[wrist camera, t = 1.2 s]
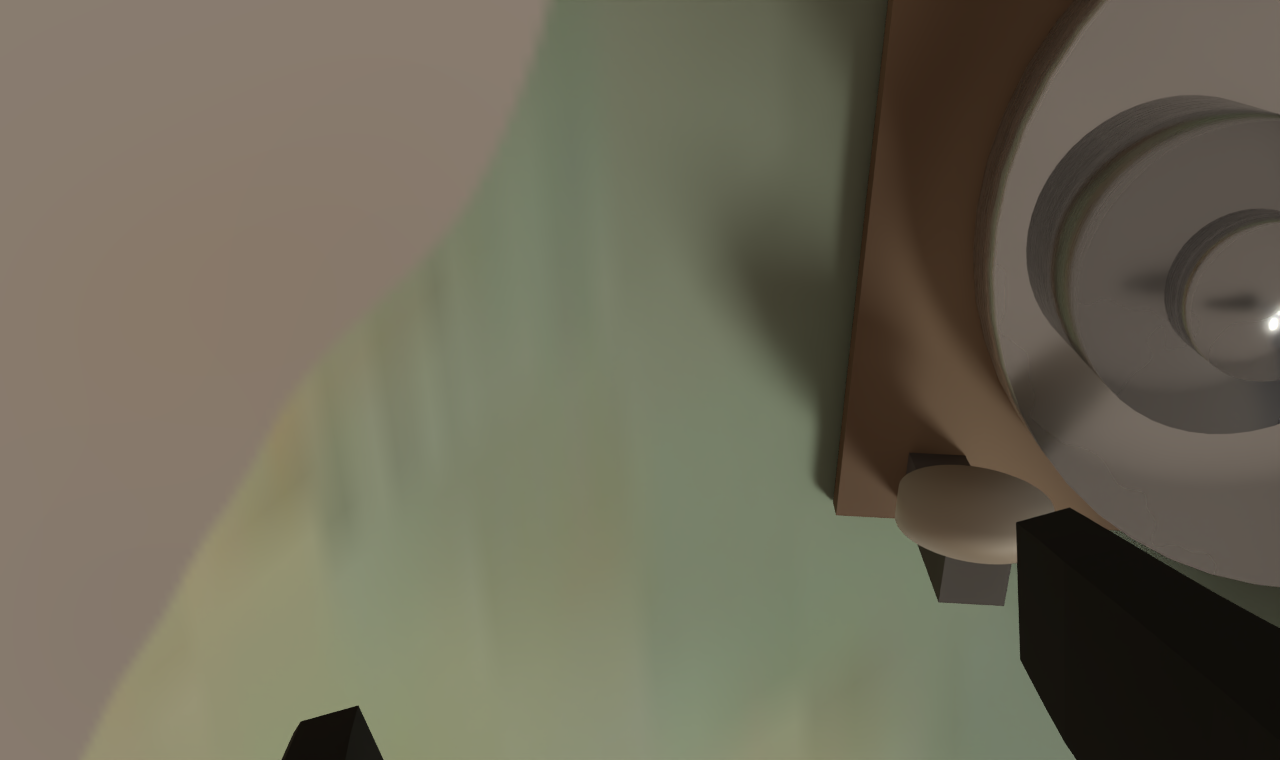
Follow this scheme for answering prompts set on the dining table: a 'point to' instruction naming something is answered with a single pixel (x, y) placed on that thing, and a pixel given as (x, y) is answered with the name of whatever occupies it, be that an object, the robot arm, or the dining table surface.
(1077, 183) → the cover
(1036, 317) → the turntable
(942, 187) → the base board
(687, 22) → the dining table surface
